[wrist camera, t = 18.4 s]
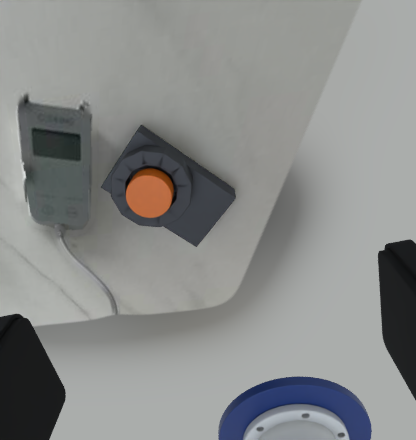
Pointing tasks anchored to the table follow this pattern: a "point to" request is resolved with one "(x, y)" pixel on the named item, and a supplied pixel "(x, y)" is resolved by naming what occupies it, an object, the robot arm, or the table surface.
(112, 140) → the table surface
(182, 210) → the button switch box
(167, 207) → the power button
